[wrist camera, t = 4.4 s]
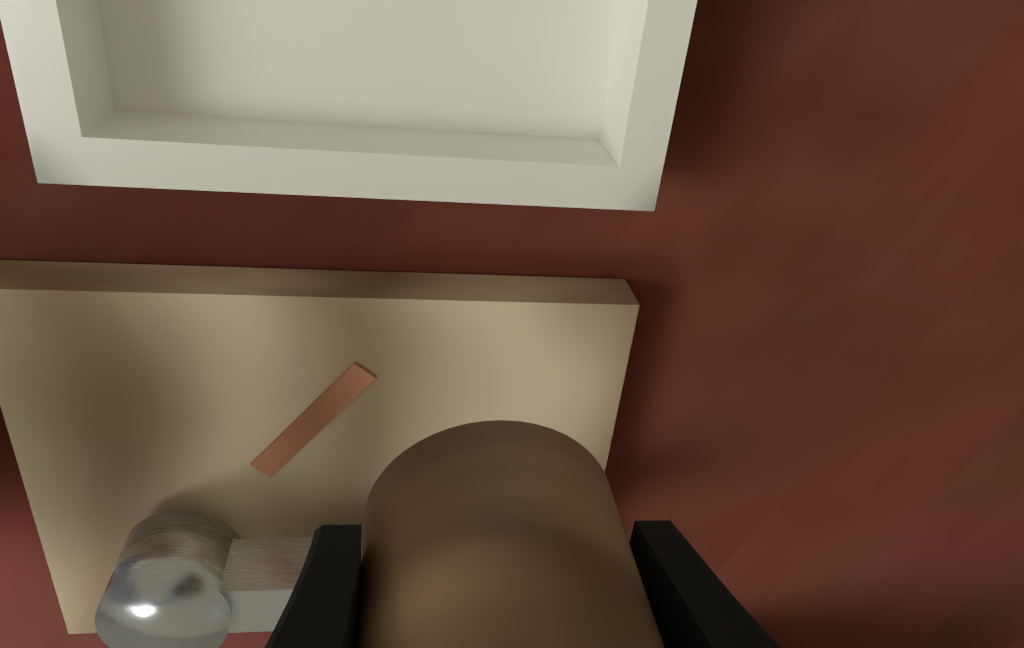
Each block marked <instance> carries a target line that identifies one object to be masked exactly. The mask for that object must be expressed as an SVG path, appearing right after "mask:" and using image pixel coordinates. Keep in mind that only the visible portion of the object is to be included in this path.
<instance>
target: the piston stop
mask: <svg viewBox="0 0 1024 648" xmlns="http://www.w3.org/2000/svg"><path fill="white" fill-rule="evenodd" d="M356 648H665V647H664V644H663V641H662V638H661V635H660V632H659V629H658V626H657V623H656V620H655V617H654V614H653V611H652V609H651V606H650V603H649V600H648V597H647V594H646V591H645V588H644V585H643V582H642V579H641V576H640V573H639V570H638V567H637V564H636V561H635V559H634V556H633V553H632V550H631V547H630V544H629V541H628V538H627V535H626V532H625V529H624V526H623V523H622V520H621V517H620V514H619V512H618V509H617V506H616V503H615V500H614V497H613V494H612V491H611V488H610V485H609V482H608V480H607V477H606V475H605V472H604V470H603V469H602V467H601V465H600V464H599V462H598V461H597V460H596V458H595V457H594V456H593V455H592V454H591V453H590V452H589V451H588V450H587V449H586V448H585V447H583V446H582V445H581V444H580V443H579V442H577V441H575V440H574V439H572V438H570V437H569V436H567V435H565V434H563V433H561V432H558V431H556V430H554V429H551V428H548V427H545V426H541V425H538V424H533V423H527V422H521V421H509V420H494V421H481V422H474V423H467V424H463V425H459V426H456V427H452V428H448V429H446V430H443V431H440V432H438V433H435V434H433V435H431V436H429V437H427V438H425V439H423V440H421V441H419V442H417V443H415V444H414V445H412V446H411V447H409V448H408V449H406V450H405V451H403V452H402V453H401V454H400V455H399V456H397V457H396V458H395V459H394V460H393V461H392V462H391V463H390V464H389V465H388V466H387V467H386V468H385V469H384V470H383V472H382V473H381V474H380V476H379V477H378V479H377V480H376V482H375V483H374V485H373V487H372V489H371V491H370V493H369V495H368V499H367V502H366V506H365V511H364V521H363V538H362V555H361V578H360V595H359V613H358V627H357V642H356Z"/></svg>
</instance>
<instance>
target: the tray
mask: <svg viewBox="0 0 1024 648" xmlns="http://www.w3.org/2000/svg"><path fill="white" fill-rule="evenodd" d="M696 5H697V0H0V19H1V24H2V28H3V33H4V37H5V41H6V46H7V50H8V55H9V59H10V63H11V68H12V72H13V77H14V81H15V85H16V90H17V94H18V99H19V103H20V107H21V112H22V116H23V121H24V125H25V129H26V134H27V138H28V143H29V147H30V151H31V156H32V160H33V165H34V169H35V173H36V178H37V182H38V183H49V184H71V185H92V186H114V187H136V188H158V189H179V190H201V191H223V192H245V193H266V194H288V195H310V196H332V197H353V198H375V199H397V200H419V201H441V202H462V203H484V204H506V205H528V206H549V207H571V208H593V209H615V210H636V211H654V210H655V205H656V200H657V195H658V190H659V186H660V181H661V176H662V171H663V166H664V161H665V156H666V151H667V147H668V142H669V137H670V132H671V127H672V122H673V117H674V112H675V107H676V103H677V98H678V93H679V88H680V83H681V78H682V73H683V68H684V63H685V59H686V54H687V49H688V44H689V39H690V34H691V29H692V24H693V19H694V15H695V10H696Z"/></svg>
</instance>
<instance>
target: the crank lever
mask: <svg viewBox="0 0 1024 648" xmlns="http://www.w3.org/2000/svg"><path fill="white" fill-rule="evenodd" d="M362 538H363V536H362ZM312 539H313V537H305V538H263V539H240V537H239V536H238V535H237V533H236V532H235V531H234V530H233V529H232V528H231V527H229V526H228V525H227V524H225V523H224V522H222V521H220V520H218V519H216V518H214V517H211V516H208V515H205V514H201V513H196V512H189V511H172V512H165V513H160V514H157V515H154V516H151V517H149V518H147V519H145V520H143V521H141V522H140V523H139V524H137V525H136V526H135V527H134V528H133V529H132V530H131V532H130V533H129V535H128V537H127V539H126V541H125V543H124V546H123V548H122V551H121V553H120V555H119V558H118V560H117V563H116V565H115V567H114V570H113V572H112V575H111V577H110V579H109V582H108V584H107V587H106V589H105V591H104V594H103V596H102V599H101V601H100V603H99V606H98V608H97V611H96V614H95V628H96V631H97V633H98V635H99V636H100V638H101V639H102V641H103V642H104V643H105V644H106V645H107V646H108V647H110V648H218V647H219V646H220V645H221V644H222V643H223V642H224V640H225V638H226V636H227V633H238V632H261V631H273V630H274V628H275V626H276V624H277V622H278V620H279V618H280V616H281V614H282V612H283V610H284V608H285V606H286V604H287V602H288V600H289V598H290V596H291V593H292V591H293V589H294V587H295V584H296V582H297V580H298V578H299V575H300V573H301V570H302V568H303V565H304V563H305V560H306V557H307V554H308V551H309V548H310V546H311V542H312ZM361 555H362V540H361Z"/></svg>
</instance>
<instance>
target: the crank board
mask: <svg viewBox="0 0 1024 648" xmlns="http://www.w3.org/2000/svg"><path fill="white" fill-rule="evenodd" d="M638 310H639V303H638V302H637V300H636V298H635V296H634V294H633V293H632V291H631V289H630V287H629V285H628V284H627V282H626V280H625V279H607V278H575V277H542V276H510V275H477V274H445V273H413V272H380V271H348V270H315V269H283V268H250V267H218V266H186V265H153V264H121V263H88V262H56V261H23V260H0V406H1V410H2V413H3V416H4V420H5V423H6V426H7V430H8V433H9V436H10V440H11V443H12V446H13V450H14V453H15V456H16V460H17V463H18V466H19V470H20V473H21V476H22V480H23V483H24V486H25V490H26V493H27V496H28V500H29V503H30V507H31V510H32V513H33V517H34V520H35V523H36V527H37V530H38V533H39V537H40V540H41V543H42V547H43V550H44V553H45V557H46V560H47V563H48V567H49V570H50V573H51V577H52V580H53V583H54V587H55V590H56V593H57V597H58V600H59V603H60V607H61V610H62V613H63V617H64V620H65V623H66V627H67V630H68V633H69V634H80V633H97V631H96V628H95V614H96V611H97V608H98V606H99V603H100V601H101V599H102V596H103V594H104V591H105V589H106V587H107V584H108V582H109V579H110V577H111V575H112V572H113V570H114V567H115V565H116V563H117V560H118V558H119V555H120V553H121V551H122V548H123V546H124V543H125V541H126V539H127V537H128V535H129V533H130V532H131V530H132V529H133V528H134V527H135V526H136V525H137V524H139V523H140V522H141V521H143V520H145V519H147V518H149V517H151V516H154V515H157V514H160V513H165V512H172V511H189V512H196V513H201V514H205V515H208V516H211V517H214V518H216V519H218V520H220V521H222V522H224V523H225V524H227V525H228V526H229V527H231V528H232V529H233V530H234V531H235V532H236V533H237V535H238V536H239V537H240V539H263V538H305V537H313V535H314V531H315V530H316V529H317V528H319V527H320V526H321V525H357V524H362V536H363V521H364V511H365V506H366V502H367V499H368V495H369V493H370V491H371V489H372V487H373V485H374V483H375V482H376V480H377V479H378V477H379V476H380V474H381V473H382V472H383V470H384V469H385V468H386V467H387V466H388V465H389V464H390V463H391V462H392V461H393V460H394V459H395V458H396V457H397V456H399V455H400V454H401V453H402V452H403V451H405V450H406V449H408V448H409V447H411V446H412V445H414V444H415V443H417V442H419V441H421V440H423V439H425V438H427V437H429V436H431V435H433V434H435V433H438V432H440V431H443V430H446V429H448V428H452V427H456V426H459V425H463V424H467V423H474V422H481V421H494V420H509V421H521V422H527V423H533V424H538V425H541V426H545V427H548V428H551V429H554V430H556V431H558V432H561V433H563V434H565V435H567V436H569V437H570V438H572V439H574V440H575V441H577V442H579V443H580V444H581V445H582V446H583V447H585V448H586V449H587V450H588V451H589V452H590V453H591V454H592V455H593V456H594V457H595V458H596V460H597V461H598V462H599V464H600V465H601V467H602V469H603V470H604V472H605V469H606V464H607V459H608V454H609V450H610V445H611V440H612V435H613V430H614V426H615V421H616V416H617V411H618V406H619V402H620V397H621V392H622V387H623V382H624V377H625V373H626V368H627V363H628V358H629V353H630V349H631V344H632V339H633V334H634V329H635V325H636V320H637V315H638Z"/></svg>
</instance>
